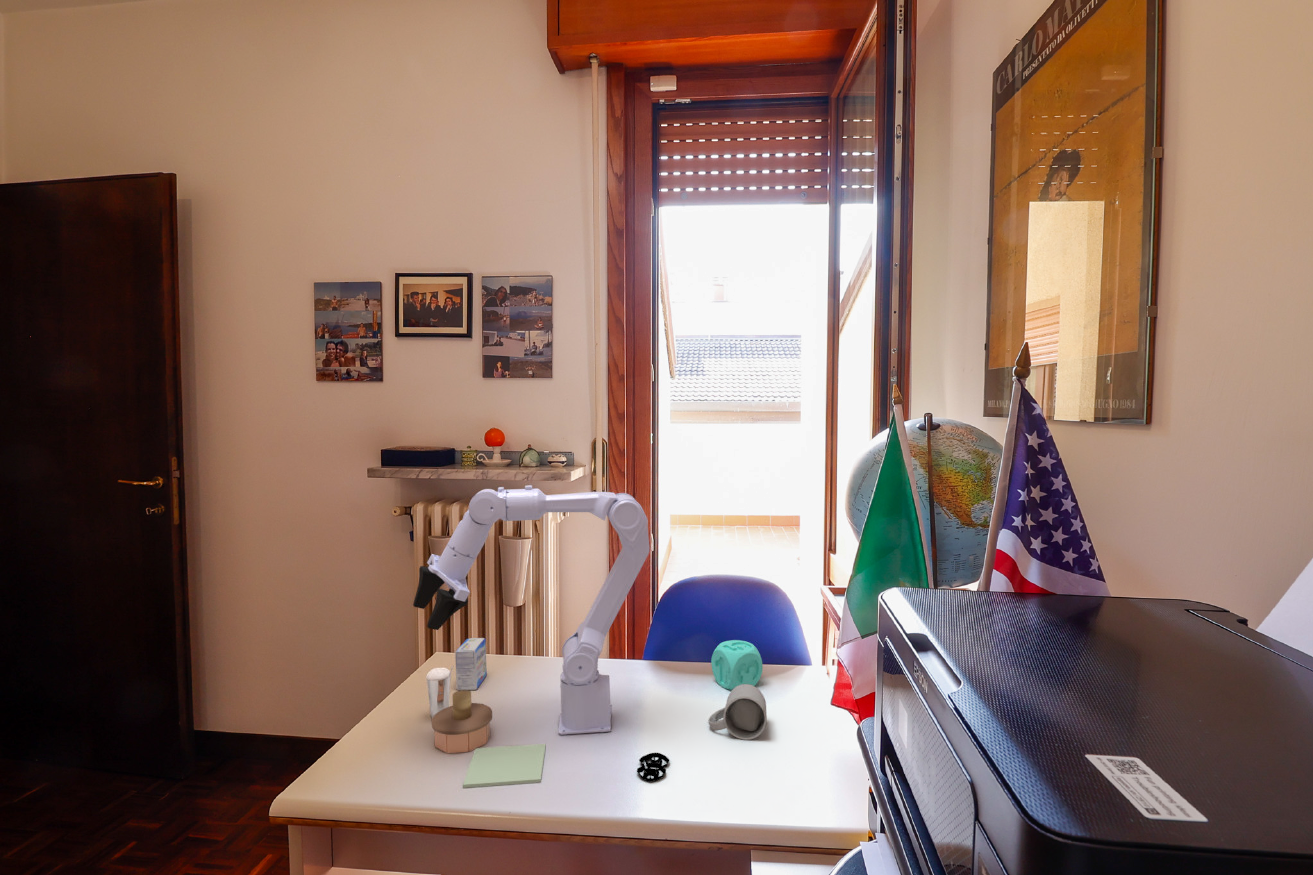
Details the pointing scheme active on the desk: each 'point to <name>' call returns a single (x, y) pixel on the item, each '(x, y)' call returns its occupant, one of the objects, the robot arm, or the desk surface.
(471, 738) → the terracotta bowl
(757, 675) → the decorative dice
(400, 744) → the desk surface
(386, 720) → the desk surface
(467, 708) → the walnut lid
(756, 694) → the ceramic mug
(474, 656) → the medicine box
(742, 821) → the desk surface
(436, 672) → the milkshake
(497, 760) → the green mat
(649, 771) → the black flat openwork piece
